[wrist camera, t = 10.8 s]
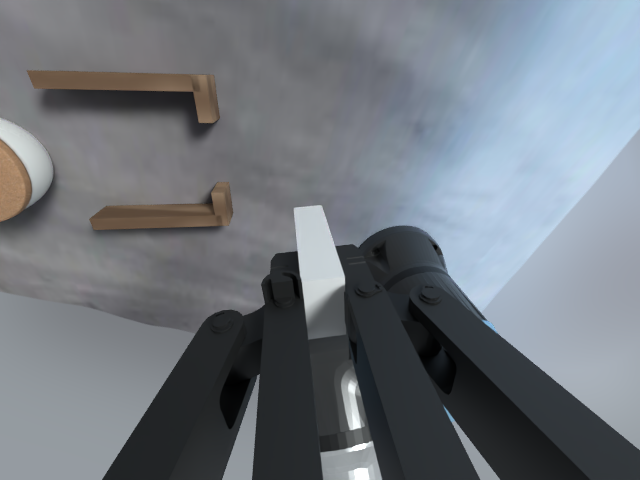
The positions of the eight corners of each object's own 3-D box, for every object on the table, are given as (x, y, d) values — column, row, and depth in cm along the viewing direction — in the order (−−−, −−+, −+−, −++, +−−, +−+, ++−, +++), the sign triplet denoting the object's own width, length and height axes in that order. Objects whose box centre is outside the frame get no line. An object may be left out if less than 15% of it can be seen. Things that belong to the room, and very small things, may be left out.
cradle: (233, 212, 41) (228, 225, 37) (110, 216, 39) (93, 229, 35) (213, 74, 32) (205, 75, 29) (55, 70, 30) (26, 70, 27)
